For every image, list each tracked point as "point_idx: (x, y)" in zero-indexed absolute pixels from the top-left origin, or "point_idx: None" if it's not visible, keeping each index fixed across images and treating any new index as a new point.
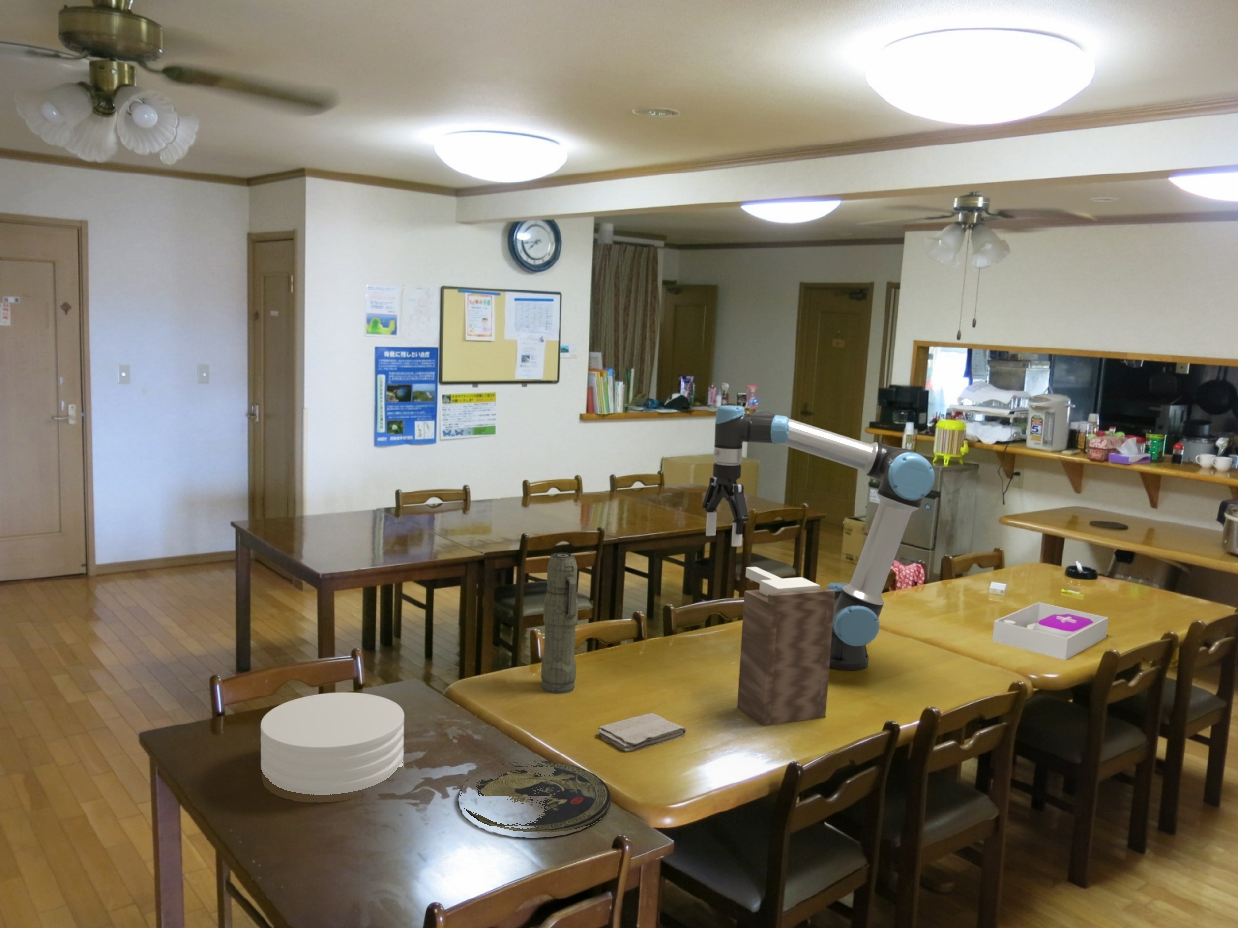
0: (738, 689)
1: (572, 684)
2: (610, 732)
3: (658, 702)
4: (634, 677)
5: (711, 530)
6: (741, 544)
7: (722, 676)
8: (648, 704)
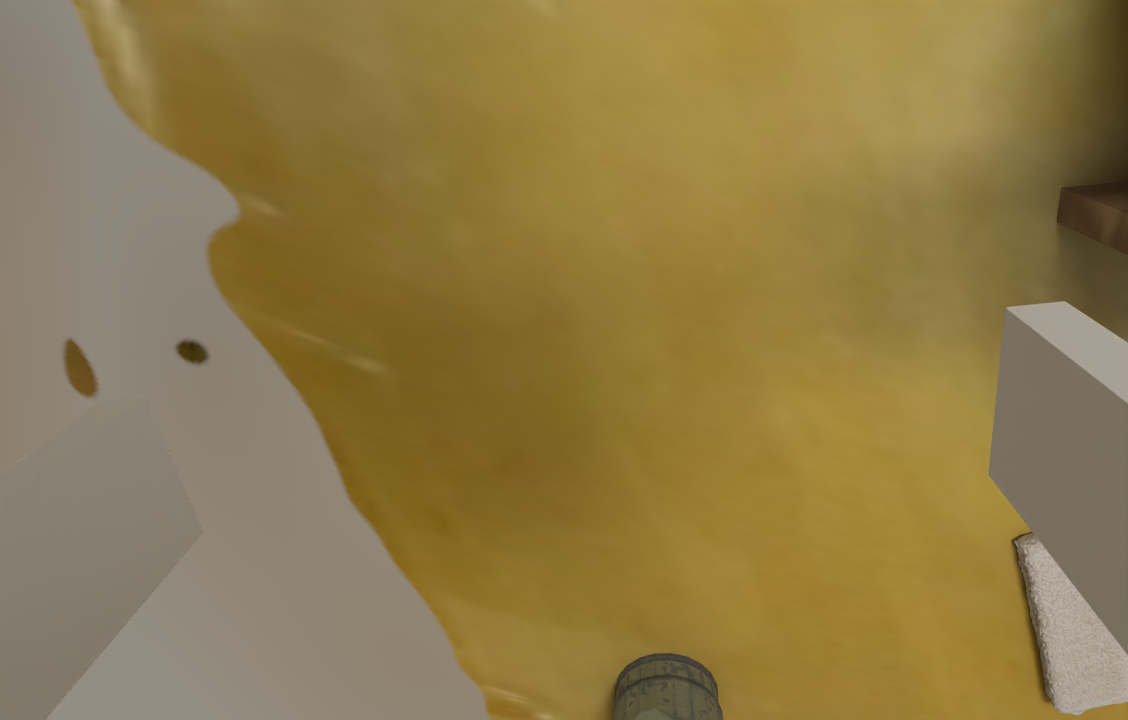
0: (1104, 242)
1: (704, 682)
2: (1111, 698)
3: (887, 475)
4: (634, 472)
5: (125, 524)
6: (1076, 315)
7: (705, 134)
8: (891, 509)
